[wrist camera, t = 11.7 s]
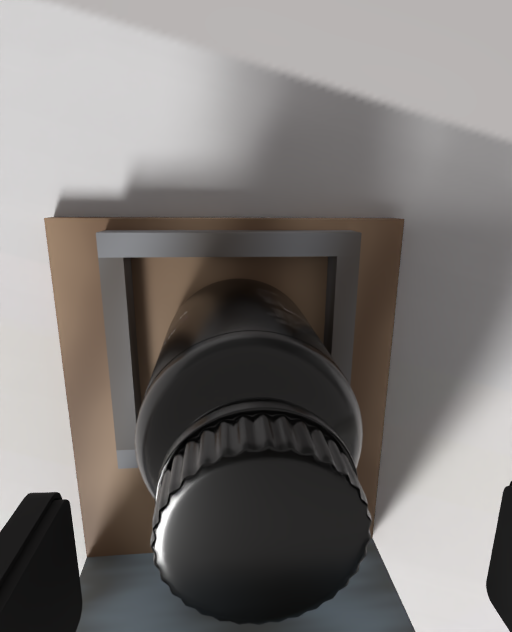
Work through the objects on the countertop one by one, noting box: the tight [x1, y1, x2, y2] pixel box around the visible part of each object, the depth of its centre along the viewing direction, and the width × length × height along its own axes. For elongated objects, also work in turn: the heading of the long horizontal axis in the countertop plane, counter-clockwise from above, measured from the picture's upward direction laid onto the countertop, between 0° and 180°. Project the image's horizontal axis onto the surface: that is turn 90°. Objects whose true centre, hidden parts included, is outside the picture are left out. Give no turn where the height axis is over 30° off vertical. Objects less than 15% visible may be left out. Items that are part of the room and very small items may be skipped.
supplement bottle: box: [135, 278, 372, 625], centre depth 15 cm, size 7×7×12 cm
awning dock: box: [44, 217, 415, 632], centre depth 14 cm, size 16×20×18 cm
